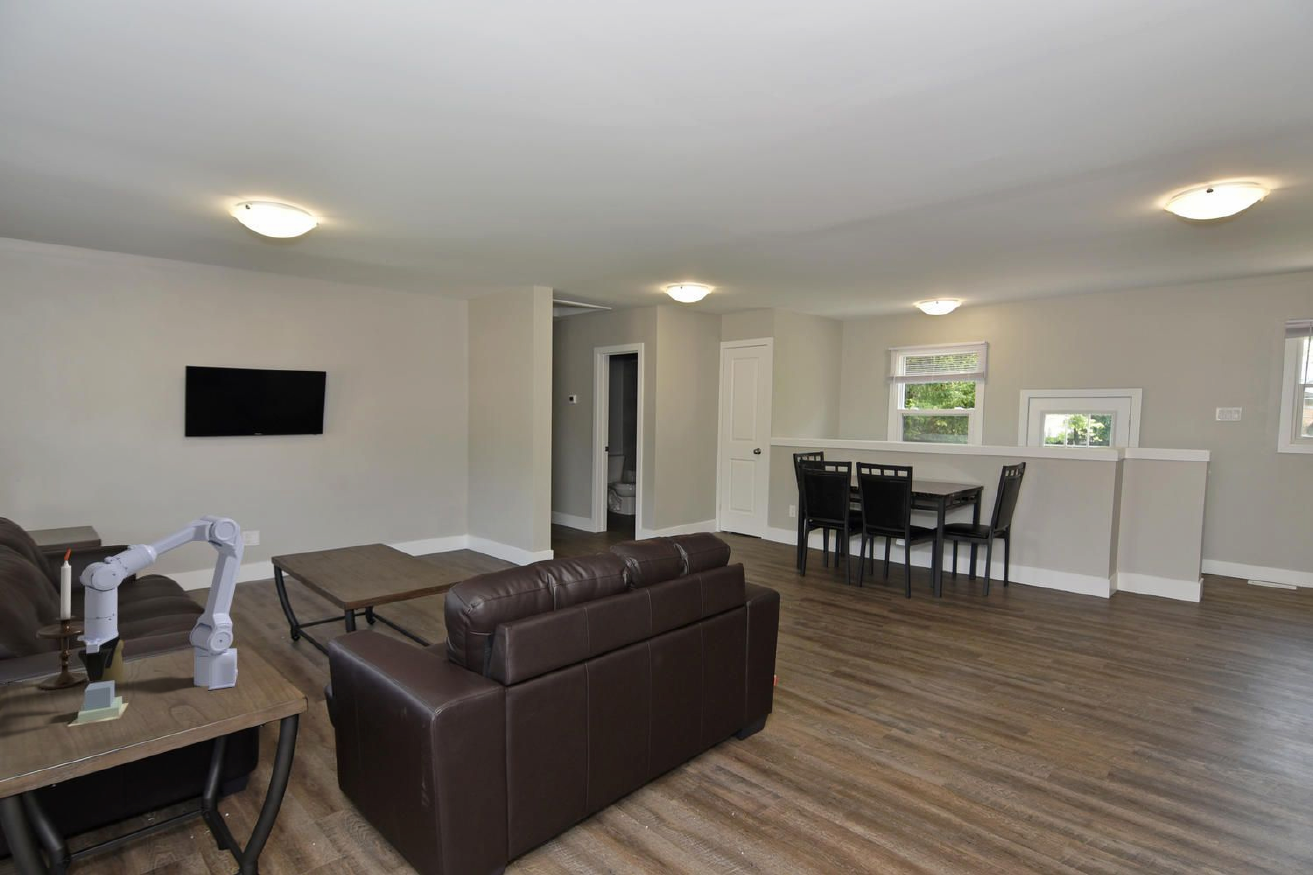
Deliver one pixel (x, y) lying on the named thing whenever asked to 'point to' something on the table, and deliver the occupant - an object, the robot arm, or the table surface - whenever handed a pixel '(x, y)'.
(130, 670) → the table surface
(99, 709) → the green block
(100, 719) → the birch slab
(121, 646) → the olive tall rounded piece
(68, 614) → the candlestick
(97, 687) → the blue cube
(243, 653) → the table surface
